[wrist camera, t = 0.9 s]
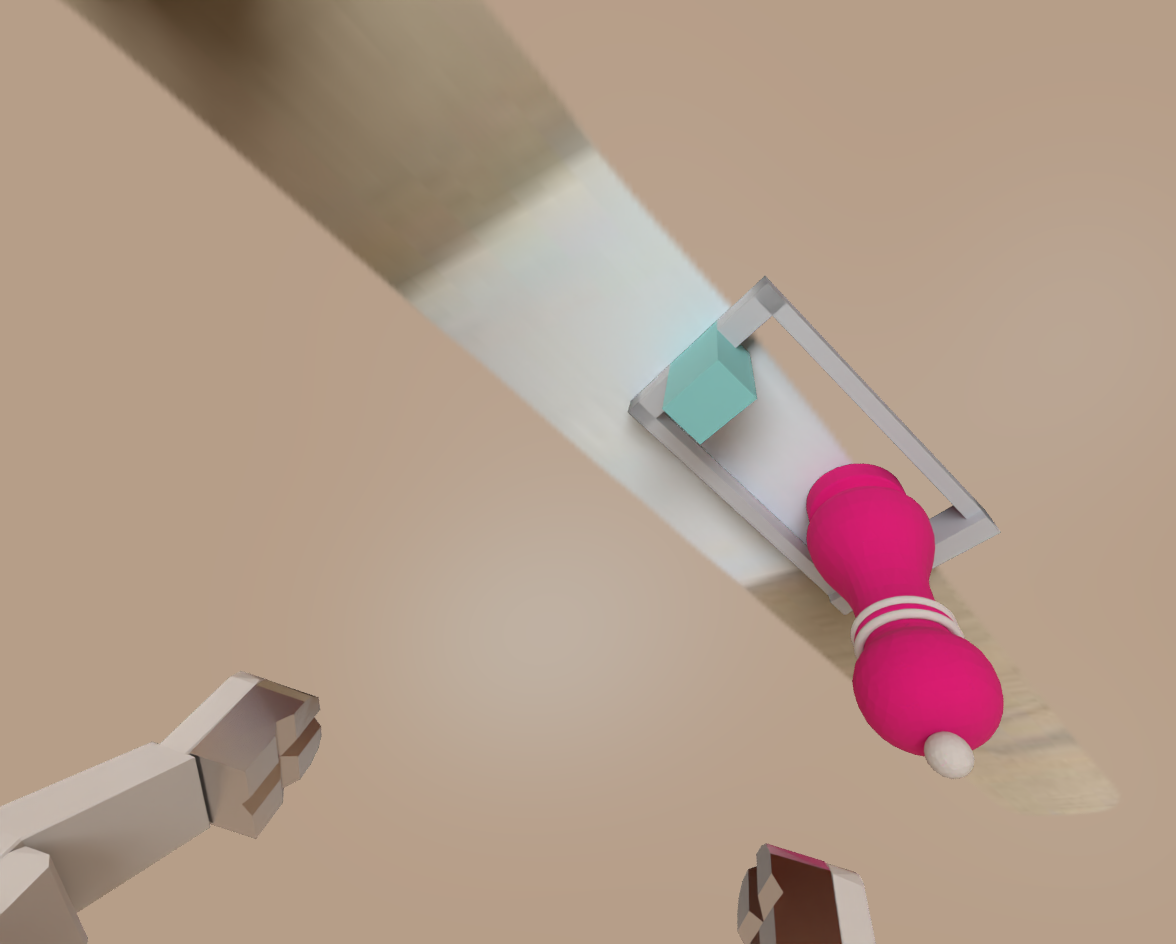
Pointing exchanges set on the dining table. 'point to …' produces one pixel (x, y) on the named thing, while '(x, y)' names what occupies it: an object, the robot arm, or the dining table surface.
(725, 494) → the grey rectangular frame
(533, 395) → the dining table surface
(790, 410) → the dining table surface
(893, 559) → the pepper mill
